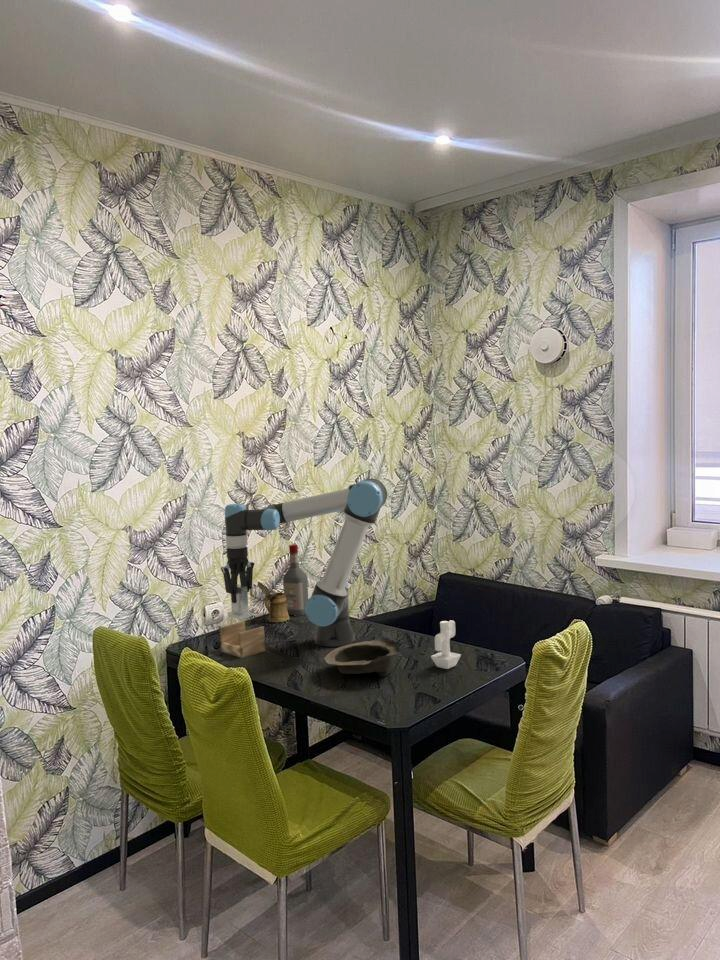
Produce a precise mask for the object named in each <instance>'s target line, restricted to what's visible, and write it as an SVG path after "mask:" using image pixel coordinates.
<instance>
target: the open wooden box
mask: <svg viewBox="0 0 720 960" xmlns="http://www.w3.org/2000/svg"><path fill="white" fill-rule="evenodd" d="M219 633H220V634H219V635H220V637H219V638H220V648H221V650H220V651H221V653H225V654H226V655H229V656H230V655H231V656H234V657H237V658H239V659H243V658H244V659H245V658H247V657H250V656H253V655H257V654H259V653H263V652H266V638H265V636H266V635H265V627H264V626H259V627H256V628H252V629H248V630H246V621H238V622H235V623H232V624H228V625H225V626H221V627H219Z"/></svg>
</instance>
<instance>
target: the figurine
mask: <svg viewBox="0 0 720 960" xmlns="http://www.w3.org/2000/svg"><path fill="white" fill-rule="evenodd" d="M439 628H440V632H439V633H437V634H435V636H434V650H435V651H437V653H435V654H433V655H430V658H431V659H432V661H433V663H434V664H435V667H437V668H441V669H445V670H449V669H451V668H453V667H455V666H457V663H458V662H459V660H460V658H461V656H462V654H461V653H457V652H452V651H451V648H450V647H451V644H450V640H451V638H454V637H455V636H456V622H455V621H454V620H451V619H450V620H449V621H447V620H442V621H440V622H439Z"/></svg>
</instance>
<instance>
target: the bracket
mask: <svg viewBox="0 0 720 960" xmlns="http://www.w3.org/2000/svg"><path fill="white" fill-rule="evenodd" d="M248 593H249V592H247V587H246V586H241V584H240V585H239V584H237V594H239V610H240V612H235V611H234V609H233V603H232V602H231V601H230V602H231V611H230V612H228V613H227V617H230V618H234V619H238V620H242V619H245V618H248V617H253V615H254V613H253V612H252V611H249V599H248V598H249V596H248V595H249V594H248Z"/></svg>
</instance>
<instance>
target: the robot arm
mask: <svg viewBox="0 0 720 960" xmlns="http://www.w3.org/2000/svg"><path fill="white" fill-rule="evenodd" d="M387 499H388V490H387V488H386V486H385V485H384V483H383V482H382V481H380V480H378V479H375V478H366V479H363V480H360V481H358V482H356V483H354V484H349V485H348V487H347V488H344V489H340V490H334V491H330V492H326V493H321V494H317V495H312V496H306V497H303V498H299V499H294V500H289V501H285V502H280V503H272V504H270V505H268V506H265V507H263V508H260V509H247V508H246V507H247V506H246V505H245V503H231V504H227V505H226V506H225V507H224V525H225V541H226V542H225V543H226V559H227V562H226V565H224V566H221V567H220V570H221V572H222V574H223V581H224V588H225V592H226V594H230V597H231V598H230V600H231V601H230V602H232V603H233V609H234V611H235V612H240V610H239V594H237V585H238V578H239V583H240V585H241V586H246V587H247V593H249V592H250V590H252V589H253V575H254V566H255V562H253V561H249V558H248V556H249V552H248V546H247V545H248V532H247V531H275V530H278V528H279V526H280V525H282V524H286V523H290V522H296V521H299V520H300V521H301V520H304V519H309V518H313V517H319V516H323V515H328V514H332V513H333V514H334V513H337V512H343V515H344V516H345V519H344V522H343V524H342V527H341V529H340V531H339V535H338V537H337V540H336V543H335V545H334V548H333V550H332V553H331V556H330V558H329V561H328V563H327V566H326V569H325V572H324V574H323V576H322V579H319V580H318V581H316V582H315V585H314V588H313V589H312V593H311V596H310V597H308V601H307V603H306V607H305V612H306V614H305V615H306V617H307V619H308V621H310V622H311V623H312V624H313V625H315V626H317V627H316V630H315V634H314V643H315V645H318V646H321V647H329V648H331V647H332V648H334V647H335V648H336V647H342V646H346V645H349V644H354V642H355V641H356V635H355V634H356V633H355V631H354V630H353V629H354V628H353V626H352V624H351V620H350V609H349V607H350V606H349V587H348V586H349V585H348V580H349V578H350V576H351V573H352V572H353V571H352V570H353V568H354V565H355V562H356V560H357V558H358V555H359V552H360V550H361V547H362V545H363V542H364V539H365V538H366V534H367V531H369V530H368V529H369V527H370V526H373V525H375V524H376V521H377V518H378V516H379V513H380V510H381V508H382V507H383V506H384V505H385V504H386V502H387ZM238 576H239V577H238Z"/></svg>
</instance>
